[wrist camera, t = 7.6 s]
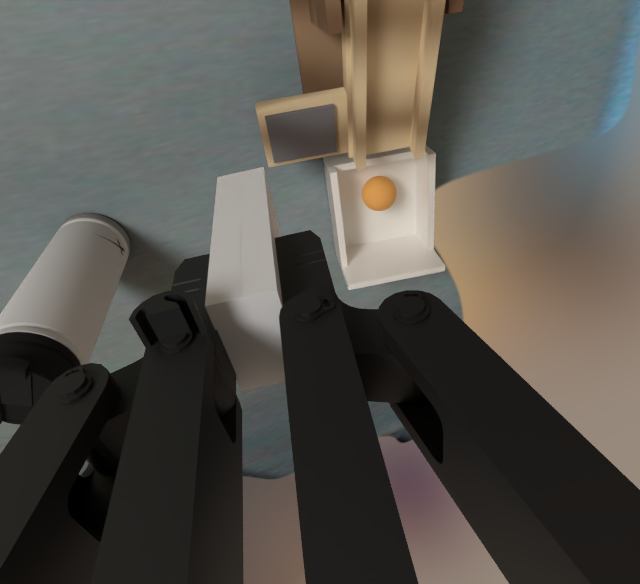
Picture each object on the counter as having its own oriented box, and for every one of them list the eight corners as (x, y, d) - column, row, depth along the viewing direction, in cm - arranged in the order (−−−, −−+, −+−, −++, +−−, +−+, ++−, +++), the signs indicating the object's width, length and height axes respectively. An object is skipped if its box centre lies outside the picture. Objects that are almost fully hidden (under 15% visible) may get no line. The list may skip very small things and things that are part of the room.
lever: (175, -262, 19) (175, -254, 17) (468, -305, 19) (495, -301, 17) (268, 163, 37) (272, 186, 35) (416, 135, 37) (427, 157, 36)
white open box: (322, 157, 41) (336, 187, 35) (420, 139, 41) (449, 165, 36) (335, 251, 47) (348, 290, 41) (420, 235, 47) (444, 270, 42)
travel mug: (134, 217, 42) (70, 373, 26) (127, 275, 45) (66, 444, 29) (59, 201, 40) (-61, 357, 24) (58, 262, 43) (-48, 436, 27)
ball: (368, 195, 44) (367, 167, 42) (400, 200, 43) (401, 171, 41) (357, 214, 42) (356, 185, 40) (390, 220, 41) (390, 190, 39)
